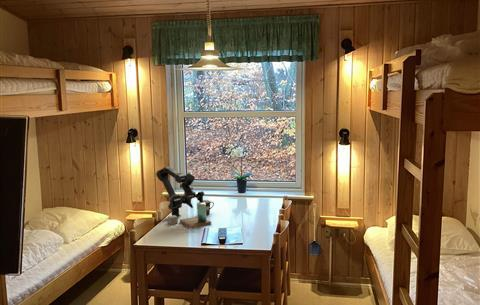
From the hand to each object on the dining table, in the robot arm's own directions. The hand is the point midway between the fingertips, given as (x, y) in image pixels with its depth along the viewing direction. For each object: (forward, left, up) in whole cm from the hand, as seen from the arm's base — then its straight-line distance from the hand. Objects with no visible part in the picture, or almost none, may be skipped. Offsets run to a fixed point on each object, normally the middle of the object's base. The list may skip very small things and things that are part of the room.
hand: (197, 206), depth 316 cm
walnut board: (-1, -2, -12) cm, 12 cm away
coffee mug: (-18, +15, -12) cm, 26 cm away
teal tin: (+4, +1, -10) cm, 11 cm away
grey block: (-11, -15, -12) cm, 22 cm away
